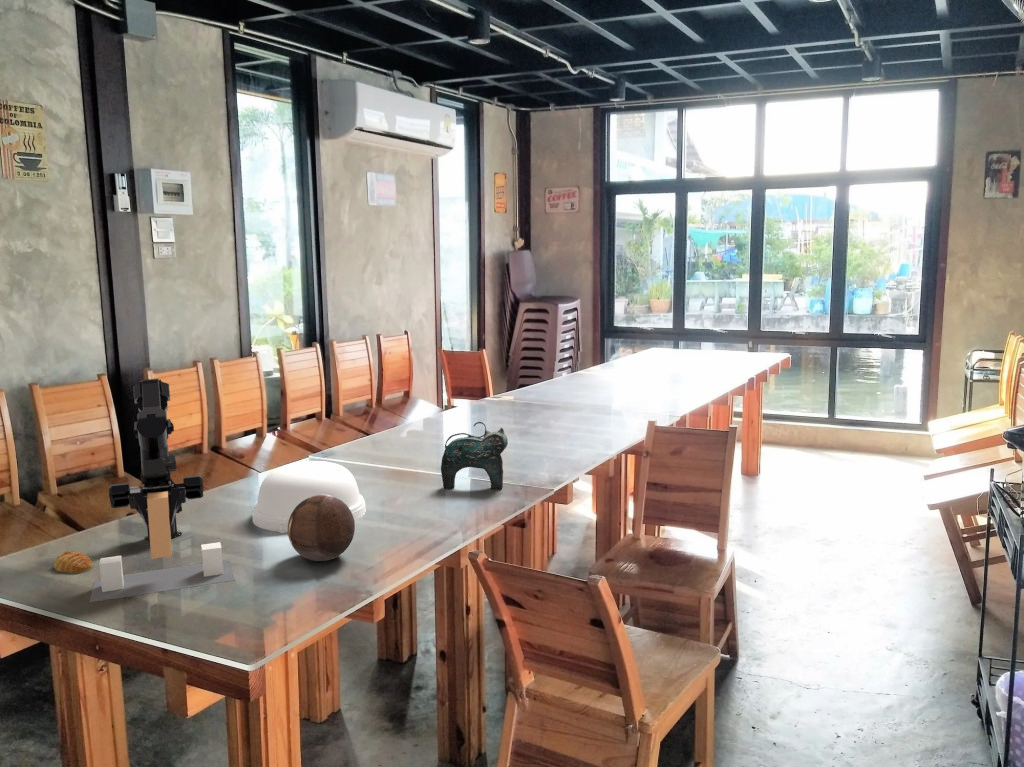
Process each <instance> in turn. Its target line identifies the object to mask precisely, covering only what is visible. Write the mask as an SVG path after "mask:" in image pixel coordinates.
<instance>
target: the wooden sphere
mask: <svg viewBox="0 0 1024 767" xmlns="http://www.w3.org/2000/svg"><path fill="white" fill-rule="evenodd" d="M355 522H356V521H354V517H353V515H352V512H351V511H350V509H349V508H348V506H347V505H346V504H345V503H344V502H343V501H341V500H340V499H338V498H336V497H333V496H330V495H315V496H311V497H309V498H307V499H305V500H303V501H302V502H301V503H299V504H298V505H297V506H296V508H295V509H294V510H293V512H292V514H291V516H290V518H289V522H288V532H287V536H288V539H289V542H290V545H291V546H292V547H293V549H294V550H295V551H296V553H298V554H299V555H300V556H301V557H303V558H305V559H307V560H309V561H313V562H326V561H330V560H334V559H335V558H337V557H339V556H341V555H342V554H343V553H344V552H345V551H346V550H348V548H349V546H350V545H351V543H352V541H353V539H354V536H355V530H356V524H355Z"/></svg>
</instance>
